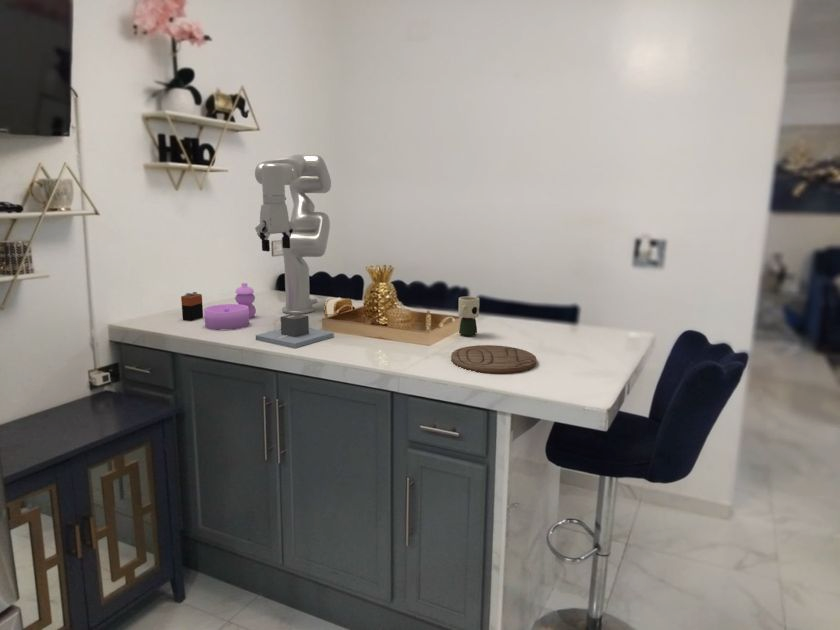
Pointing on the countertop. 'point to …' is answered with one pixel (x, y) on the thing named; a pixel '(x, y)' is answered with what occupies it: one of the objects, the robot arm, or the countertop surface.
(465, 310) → the character mug
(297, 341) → the hub panel
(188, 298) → the battery
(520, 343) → the countertop surface
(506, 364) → the trivet
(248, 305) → the container set
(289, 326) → the dark gray cube
